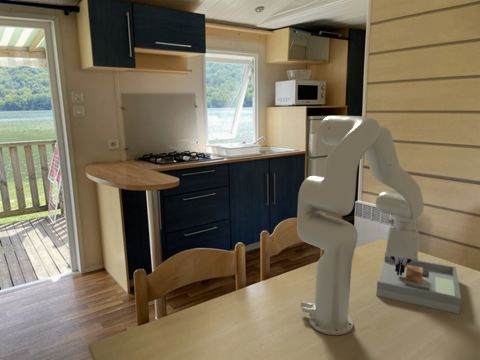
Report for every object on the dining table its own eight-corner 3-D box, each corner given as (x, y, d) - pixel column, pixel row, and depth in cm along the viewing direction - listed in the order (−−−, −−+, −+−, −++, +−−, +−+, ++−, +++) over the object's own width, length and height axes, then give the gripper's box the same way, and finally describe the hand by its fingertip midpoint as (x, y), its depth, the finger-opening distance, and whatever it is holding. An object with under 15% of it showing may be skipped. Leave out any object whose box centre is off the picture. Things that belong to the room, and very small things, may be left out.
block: (405, 281, 128) (406, 270, 127) (406, 275, 133) (407, 264, 132) (421, 284, 126) (422, 273, 125) (421, 278, 130) (422, 267, 130)
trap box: (376, 295, 123) (377, 281, 122) (384, 266, 145) (385, 254, 144) (459, 313, 113) (461, 298, 112) (454, 279, 135) (455, 266, 134)
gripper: (380, 224, 127) (376, 274, 131) (428, 231, 121) (422, 282, 124) (382, 218, 134) (378, 265, 137) (428, 224, 127) (422, 273, 131)
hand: (399, 273), depth 131 cm, fingers closed
